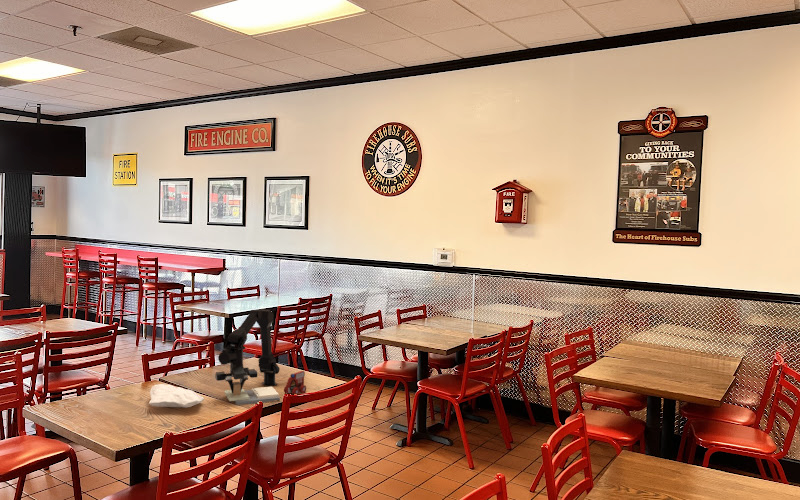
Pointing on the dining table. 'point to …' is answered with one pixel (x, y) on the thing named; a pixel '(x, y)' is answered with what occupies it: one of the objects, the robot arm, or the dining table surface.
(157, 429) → the dining table surface
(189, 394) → the white rock
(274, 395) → the board
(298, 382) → the toy fire truck
